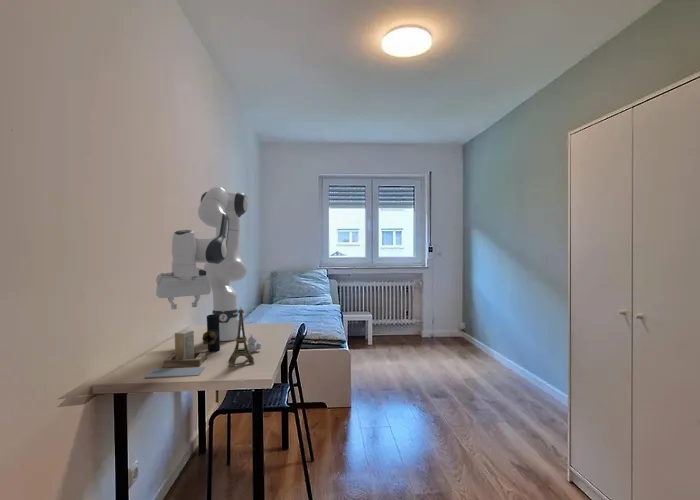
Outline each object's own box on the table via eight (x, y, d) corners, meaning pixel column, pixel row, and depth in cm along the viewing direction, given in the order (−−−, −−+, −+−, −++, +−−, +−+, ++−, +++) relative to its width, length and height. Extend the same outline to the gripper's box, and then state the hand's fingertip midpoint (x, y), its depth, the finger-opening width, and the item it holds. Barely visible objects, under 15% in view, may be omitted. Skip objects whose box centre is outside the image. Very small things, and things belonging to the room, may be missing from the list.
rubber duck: (245, 351, 191) (245, 332, 191) (261, 350, 193) (261, 332, 192) (244, 354, 186) (244, 335, 186) (261, 353, 187) (260, 334, 187)
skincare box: (185, 360, 177) (185, 329, 177) (194, 361, 176) (194, 330, 176) (174, 364, 171) (174, 332, 171) (184, 365, 170) (183, 333, 170)
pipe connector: (215, 356, 185) (214, 321, 183) (202, 357, 184) (200, 321, 183) (221, 347, 196) (220, 314, 194) (209, 348, 196) (207, 314, 194)
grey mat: (154, 370, 164) (154, 368, 164) (205, 368, 166) (205, 366, 166) (144, 378, 154) (144, 377, 154) (199, 376, 156) (199, 374, 156)
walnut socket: (173, 359, 179) (172, 352, 179) (206, 357, 181) (206, 351, 181) (163, 368, 166) (163, 361, 166) (199, 366, 168) (199, 360, 168)
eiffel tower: (227, 368, 165) (226, 301, 165) (227, 361, 175) (226, 297, 175) (256, 366, 168) (255, 299, 168) (254, 359, 178) (254, 296, 178)
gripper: (159, 273, 163) (159, 311, 163) (212, 271, 177) (212, 306, 177) (153, 272, 167) (153, 309, 167) (205, 270, 181) (205, 304, 181)
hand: (184, 308), depth 172 cm, fingers open, 7 cm apart
